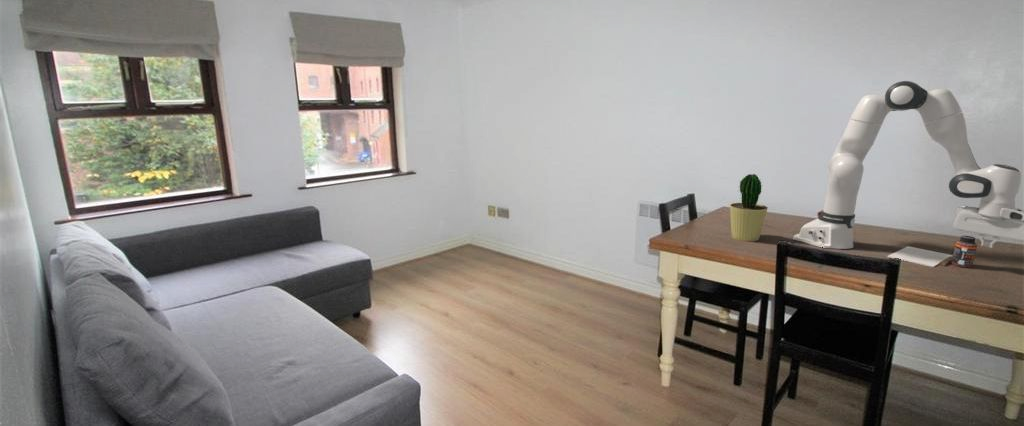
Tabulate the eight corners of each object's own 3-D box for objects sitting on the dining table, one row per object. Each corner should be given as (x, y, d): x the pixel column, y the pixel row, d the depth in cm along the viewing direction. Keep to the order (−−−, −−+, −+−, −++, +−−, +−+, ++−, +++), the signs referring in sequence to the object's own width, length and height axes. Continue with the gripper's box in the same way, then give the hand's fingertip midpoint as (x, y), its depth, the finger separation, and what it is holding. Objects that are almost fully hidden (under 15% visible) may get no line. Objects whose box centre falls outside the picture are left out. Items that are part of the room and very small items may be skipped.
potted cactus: (756, 233, 227) (763, 170, 220) (769, 242, 212) (777, 175, 205) (722, 232, 229) (728, 170, 222) (733, 242, 214) (740, 175, 207)
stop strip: (939, 264, 183) (939, 262, 183) (949, 258, 190) (950, 256, 190) (944, 266, 182) (944, 263, 182) (954, 259, 189) (955, 257, 188)
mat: (887, 257, 193) (887, 256, 193) (908, 247, 205) (908, 246, 205) (933, 267, 181) (933, 266, 181) (952, 256, 193) (952, 255, 193)
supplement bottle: (964, 268, 179) (971, 239, 176) (947, 263, 185) (953, 235, 182) (976, 267, 181) (983, 238, 178) (958, 262, 186) (964, 234, 183)
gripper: (955, 206, 179) (947, 241, 183) (1033, 217, 163) (1023, 256, 166) (960, 203, 183) (952, 238, 186) (1038, 214, 166) (1027, 252, 170)
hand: (986, 247), depth 176 cm, fingers closed
